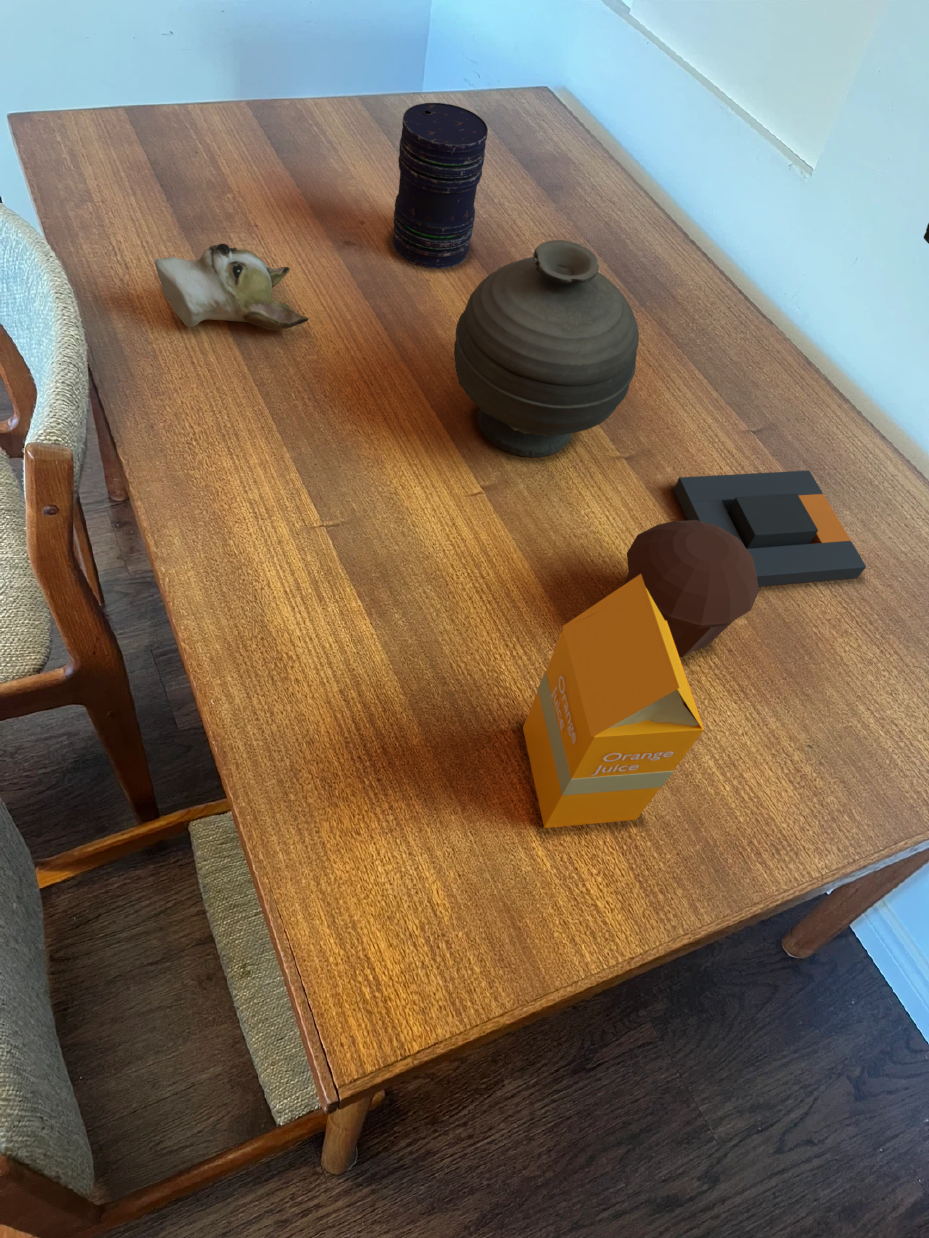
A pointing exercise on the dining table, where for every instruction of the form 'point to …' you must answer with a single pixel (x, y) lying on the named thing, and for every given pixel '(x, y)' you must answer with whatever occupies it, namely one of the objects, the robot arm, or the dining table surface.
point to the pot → (545, 349)
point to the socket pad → (779, 564)
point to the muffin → (694, 579)
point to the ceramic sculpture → (225, 288)
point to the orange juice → (610, 713)
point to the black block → (772, 521)
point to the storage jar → (438, 183)
